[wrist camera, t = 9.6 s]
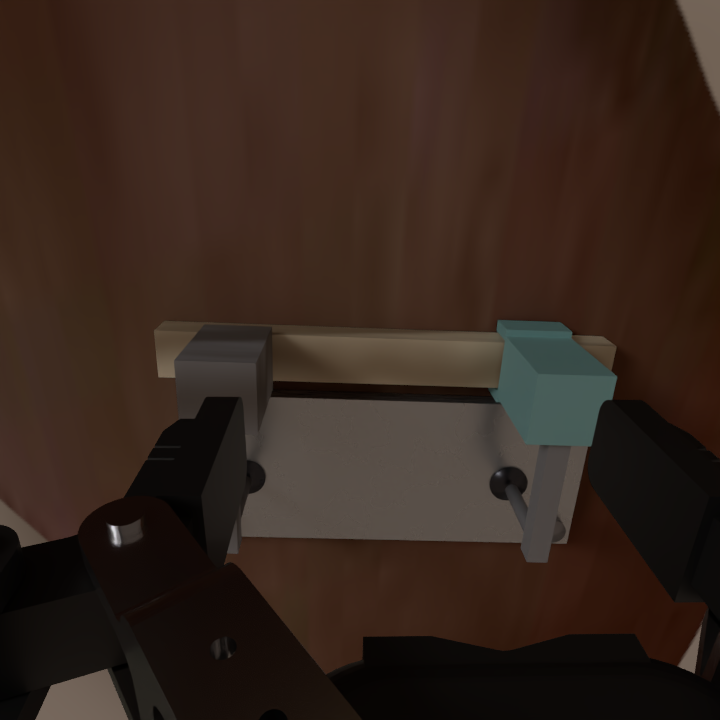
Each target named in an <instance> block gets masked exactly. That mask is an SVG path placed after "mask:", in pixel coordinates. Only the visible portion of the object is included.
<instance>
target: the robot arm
mask: <svg viewBox="0 0 720 720" xmlns="http://www.w3.org/2000/svg"><path fill="white" fill-rule="evenodd" d="M719 460H720V459H719V458H717V457H716V456H715V455H714V454H713V453H712V452H710V451H706V447H705V446H703V445H702V444H701V443H700V442H699V441H698V440H697V439H695V438H694V437H693V436H692V435H691V434H689V433H687V432H685V431H684V430H682V429H680V428H678V427H676V426H674V425H672V424H670V423H668V422H667V421H666V420H665V419H664V418H662V417H661V416H660V415H659V414H658V413H657V412H656V411H654V410H653V409H652V408H651V407H650V406H649V405H648V404H647V403H645V402H644V401H642V400H606V401H604V402H603V403H602V405H601V407H600V410H599V414H598V418H597V423H596V427H595V432H594V436H593V441H592V445H591V450H590V455H589V459H588V474H589V479H590V482H591V485H592V487H593V488H594V490H595V491H596V493H597V494H598V496H599V497H600V498H601V500H602V501H603V503H604V504H605V505H606V507H607V508H608V510H609V511H610V512H611V514H612V515H613V517H614V518H615V519H616V521H617V522H618V524H619V525H620V526H621V528H622V529H623V531H624V532H625V533H626V535H627V536H628V538H629V539H630V540H631V542H632V543H633V545H634V546H635V548H636V549H637V550H638V552H639V553H640V555H641V556H642V557H643V559H644V560H645V562H646V563H647V564H648V566H649V567H650V569H651V570H652V571H653V573H654V574H655V576H656V577H657V578H658V580H659V581H660V583H661V584H662V585H663V587H664V588H665V590H666V591H667V592H668V594H669V595H670V597H671V598H672V599H673V601H674V602H705V603H706V605H707V606H708V608H707V611H706V613H705V616H704V619H703V622H702V628H701V635H700V641H699V648H698V655H697V662H696V669H695V674H694V673H692V672H690V671H687V670H685V669H682V668H680V667H677V666H675V665H672V664H669V663H665V662H662V661H659V660H656V659H651V658H649V657H648V656H647V654H646V652H645V651H644V649H643V647H642V646H641V644H640V642H639V640H638V639H637V637H636V635H635V634H572V635H565V636H562V637H558V638H554V639H551V640H547V641H543V642H540V643H536V644H532V645H529V646H525V647H522V648H518V649H514V650H510V651H500V650H494V649H490V648H485V647H480V646H475V645H471V644H466V643H461V642H456V641H452V640H447V639H442V638H437V637H433V636H399V637H363V657H362V660H361V661H358V662H354V663H350V664H348V665H345V666H343V667H340V668H338V669H336V670H334V671H332V672H330V673H328V674H325V673H324V672H323V670H322V669H321V668H320V667H319V666H318V664H317V663H316V662H315V661H314V659H313V658H312V657H311V656H310V654H309V653H308V652H307V651H306V649H305V648H304V647H303V646H302V645H301V643H300V642H299V641H298V640H297V638H296V637H295V636H294V635H293V633H292V632H291V631H290V630H289V628H288V627H287V626H286V625H285V623H284V622H283V621H282V620H281V619H280V617H279V616H278V615H277V614H276V612H275V611H274V610H273V609H272V607H271V606H270V605H269V604H268V602H267V601H266V600H265V599H264V598H263V596H262V595H261V594H260V593H259V591H258V590H257V589H256V588H255V586H254V585H253V584H252V583H251V581H250V580H249V579H248V578H247V577H246V575H245V574H244V573H243V572H242V570H241V569H240V568H239V567H238V566H237V565H235V564H234V563H231V562H229V563H227V564H225V565H224V562H225V559H226V555H227V551H228V547H229V544H230V540H231V536H232V533H233V529H234V525H235V521H236V518H237V514H238V510H239V507H240V503H241V499H242V495H243V492H244V488H245V483H246V474H247V453H246V438H245V423H244V408H243V401H242V398H241V397H206V398H205V399H204V401H203V403H202V405H201V407H200V409H199V411H198V413H197V415H196V417H195V419H179V420H178V421H177V422H175V423H174V424H172V425H171V426H170V427H168V428H167V429H165V430H164V431H163V432H162V434H161V436H160V437H159V439H158V441H157V443H156V444H155V448H153V449H152V451H151V453H150V454H149V456H148V460H146V461H145V463H144V464H143V466H142V468H141V469H140V471H139V473H138V475H137V476H136V478H135V480H134V481H133V483H132V485H131V486H130V488H129V490H128V491H127V493H126V495H125V496H124V498H121V499H118V500H115V501H112V502H110V503H107V504H105V505H103V506H101V507H99V508H98V509H96V510H95V511H93V512H92V513H91V514H90V515H89V516H87V518H86V519H85V520H84V521H83V522H82V524H81V526H80V528H79V531H78V534H77V535H74V536H71V537H68V538H64V539H59V540H55V541H50V542H45V543H41V544H36V545H32V546H27V547H22V548H21V545H20V542H19V538H18V535H17V533H16V532H15V531H14V530H13V529H11V528H9V527H7V526H4V525H0V720H35V719H36V717H37V715H38V713H39V710H40V708H41V706H42V704H43V701H44V699H45V697H46V695H47V693H48V691H49V689H50V686H51V685H53V684H57V683H61V682H64V681H67V680H71V679H74V678H77V677H80V676H84V675H87V674H90V673H94V672H97V671H101V670H104V669H108V672H109V674H110V676H111V679H112V681H113V684H114V686H115V688H116V691H117V693H118V696H119V698H120V700H121V703H122V705H123V708H124V710H125V712H126V715H127V717H128V720H720V461H719Z"/></svg>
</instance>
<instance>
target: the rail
mask: <svg viewBox="0 0 720 720" xmlns="http://www.w3.org/2000/svg"><path fill="white" fill-rule="evenodd" d="M154 335H155V346H156V356H157V366H158V377H171V378H175V380H176V391H177V403H178V415H179V419H195V417H196V415H197V413H198V411H199V409H200V407H201V405H202V403H203V401H204V399H205V398H206V397H241V398H242V401H243V408H244V423H245V435H258V433H259V430H260V427H261V424H262V421H263V418H264V415H265V412H266V408H267V405H268V402H269V399H270V396H271V393H272V390H273V381H296V382H328V383H359V384H390V385H422V386H453V387H484V388H498V385H499V378H500V371H501V364H502V357H503V351H504V344H505V340H504V339H503V338H502V337H501V335H500V334H499V333H494V332H466V331H437V330H409V329H381V328H352V327H324V326H296V325H267V324H239V323H211V322H182V321H164V322H163V323H162V324H161V325H160V326H159V327H157V328H156V329H155V330H154ZM571 338H572V339H573V340H574V341H575V342H576V343H578V344H579V345H580V346H581V347H582V348H584V349H585V350H586V351H587V352H588V353H590V354H591V355H592V356H593V357H594V358H596V359H597V360H598V361H599V362H600V363H602V364H603V365H604V366H605V367H606V368H608V369H609V370H610V371H611V370H612V366H613V361H614V357H615V352H616V348H617V346H615V345H614V344H612V343H611V342H610V341H608V340H607V339H605V338H604V337H603V336H579V335H572V337H571ZM251 483H252V481H251V479H250V478H249V477H248V476H246V483H245V488H244V492H243V495H242V499H241V503H240V507H239V510H238V514H237V518H236V521H235V525H234V529H233V533H232V536H231V540H230V544H229V547H228V551H227V553H237V554H238V552H239V548H240V544H241V541H242V533H241V517H242V514H243V510H244V507H245V504H246V500H247V497H248V493H249V490H250V487H251Z"/></svg>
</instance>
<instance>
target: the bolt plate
mask: <svg viewBox="0 0 720 720" xmlns="http://www.w3.org/2000/svg"><path fill="white" fill-rule="evenodd" d="M245 438H246V453H247V474H246V476H248V477H249V478H250V479H251V481H252V483H251V487H250V490H249V493H248V497H247V500H246V504H245V507H244V510H243V514H242V517H241V533H242V536H244V537H289V538H333V539H378V540H423V541H468V542H513V543H522V538H523V533H524V532H523V530H522V528H521V525H520V523H519V521H518V519H517V517H516V515H515V512H514V510H513V508H512V506H511V504H510V502H509V499H508V497H507V495H506V493H505V488H506V487H507V486H508V485H511V484H513V485H516V486H517V487H518V489H519V491H520V493H521V495H522V497H523V499H524V501H525V503H526V505H527V507H528V506H529V500H530V495H531V489H532V484H533V478H534V473H535V468H536V462H537V457H538V451H539V446H540V445H526V444H525V442H524V440H523V439H522V437H521V435H520V434H519V432H518V430H517V429H516V427H515V426H514V424H513V422H512V421H511V419H510V417H509V416H508V414H507V412H506V411H505V409H504V407H503V406H502V404H501V403H500V402H496V401H495V400H494V398H493V396H461V395H430V394H398V393H366V392H334V391H302V390H272V393H271V396H270V399H269V402H268V405H267V408H266V412H265V415H264V418H263V421H262V424H261V427H260V430H259V433H258V435H245ZM587 449H588V446H571V450H570V454H569V459H568V464H567V469H566V474H565V479H564V483H563V488H562V493H561V498H560V503H559V508H558V512H557V517H556V522H555V527H554V532H553V536H552V541H551V543H558V544H567V540H568V535H569V530H570V526H571V521H572V517H573V512H574V508H575V503H576V499H577V494H578V490H579V485H580V480H581V476H582V471H583V467H584V462H585V458H586V453H587Z"/></svg>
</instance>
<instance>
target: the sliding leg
mask: <svg viewBox="0 0 720 720" xmlns="http://www.w3.org/2000/svg"><path fill="white" fill-rule="evenodd" d="M497 332H498V333H499V334H500V335H501V337H502V338H503V339H504V340H505V344H504V351H503V357H502V364H501V371H500V378H499V385H498V388H488V390H489V391H490V393H491V395H492V396H493V398H494V400H495V401H496V402H500V403H501V404H502V406H503V407H504V409H505V411H506V412H507V414H508V416H509V417H510V419H511V421H512V422H513V424H514V426H515V427H516V429H517V430H518V432H519V434H520V435H521V437H522V439H523V440H524V442H525V444H526V445H540V446H539V451H538V457H537V462H536V468H535V473H534V478H533V484H532V489H531V495H530V500H529V506H528V507H527V505H526V503H525V501H524V499H523V497H522V495H521V493H520V491H519V489H518V487H517V486H516V485H513V484H511V485H508V486H507V487H506V488H505V493H506V495H507V497H508V499H509V502H510V504H511V506H512V508H513V510H514V512H515V515H516V517H517V519H518V521H519V523H520V525H521V528H522V530H523V532H524V533H523V538H522V544H521V550H522V552H523V554H524V557H525V559H526V561H527V562H547V561H548V556H549V551H550V546H551V541H552V536H553V532H554V527H555V522H556V517H557V512H558V508H559V503H560V498H561V493H562V488H563V483H564V479H565V474H566V469H567V464H568V459H569V454H570V450H571V446H591V445H592V441H593V436H594V432H595V427H596V423H597V418H598V414H599V410H600V407H601V405H602V403H603V402H604V401H606V400H612V398H613V393H614V389H615V384H616V380H617V376H616V375H615V374H614V373H612V372H611V371H610V370H609V369H608V368H606V367H605V366H604V365H603V364H602V363H600V362H599V361H598V360H597V359H596V358H594V357H593V356H592V355H591V354H590V353H588V352H587V351H586V350H585V349H584V348H582V347H581V346H580V345H579V344H578V343H576V342H575V341H574V340H573V339H572V338H571V337H572V331H571V330H569V329H568V328H567V327H566V326H564V325H563V324H562V323H561V322H540V321H512V320H498V323H497Z"/></svg>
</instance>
